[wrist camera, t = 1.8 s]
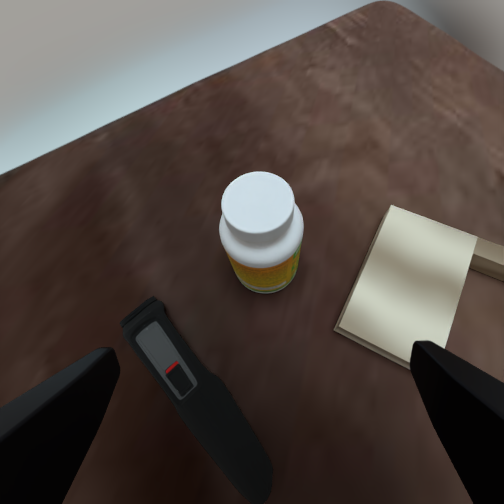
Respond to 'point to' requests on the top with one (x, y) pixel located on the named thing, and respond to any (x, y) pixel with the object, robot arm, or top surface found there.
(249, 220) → the supplement bottle
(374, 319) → the notched board
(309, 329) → the top surface
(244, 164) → the top surface
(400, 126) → the top surface
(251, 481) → the electric trimmer
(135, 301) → the top surface
